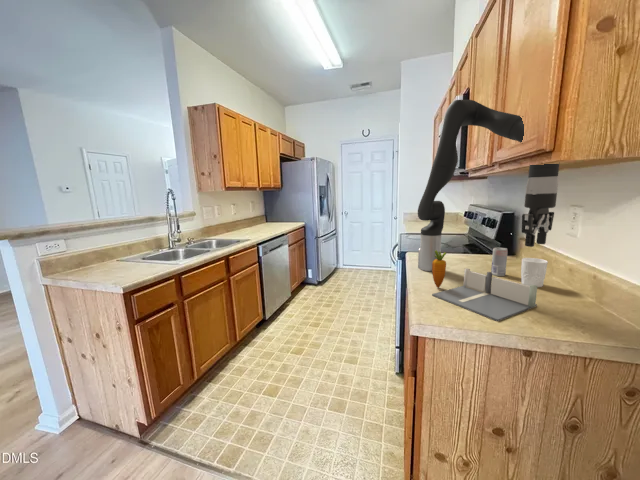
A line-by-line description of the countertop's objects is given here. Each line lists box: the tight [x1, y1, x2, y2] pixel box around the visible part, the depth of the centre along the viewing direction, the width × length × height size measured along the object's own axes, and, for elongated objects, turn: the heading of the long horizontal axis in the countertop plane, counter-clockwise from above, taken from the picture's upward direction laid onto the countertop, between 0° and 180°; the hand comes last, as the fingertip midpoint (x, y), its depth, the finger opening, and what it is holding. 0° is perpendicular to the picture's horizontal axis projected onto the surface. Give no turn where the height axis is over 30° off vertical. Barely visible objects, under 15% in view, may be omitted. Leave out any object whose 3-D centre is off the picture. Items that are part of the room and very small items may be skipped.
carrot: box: [431, 250, 447, 289], centre depth 102 cm, size 5×5×15 cm
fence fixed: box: [462, 267, 493, 294], centre depth 98 cm, size 10×2×8 cm, turn 26°
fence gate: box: [491, 276, 538, 308], centre depth 87 cm, size 13×2×7 cm, turn 26°
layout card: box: [431, 285, 538, 322], centre depth 90 cm, size 23×21×1 cm
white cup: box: [520, 257, 549, 288], centre depth 103 cm, size 8×8×10 cm
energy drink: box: [490, 246, 509, 277], centre depth 117 cm, size 5×5×12 cm
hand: (535, 245), depth 84 cm, fingers open, 6 cm apart
